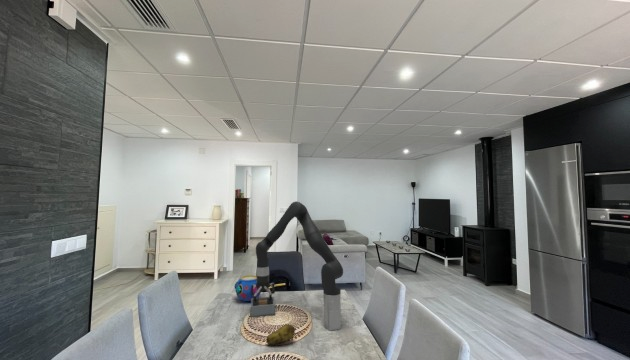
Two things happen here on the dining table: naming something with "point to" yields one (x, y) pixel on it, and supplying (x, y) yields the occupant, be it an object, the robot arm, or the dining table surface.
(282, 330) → the green pear
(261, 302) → the walnut block
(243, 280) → the ceramic pot
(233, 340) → the dining table surface
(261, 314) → the charcoal bin
